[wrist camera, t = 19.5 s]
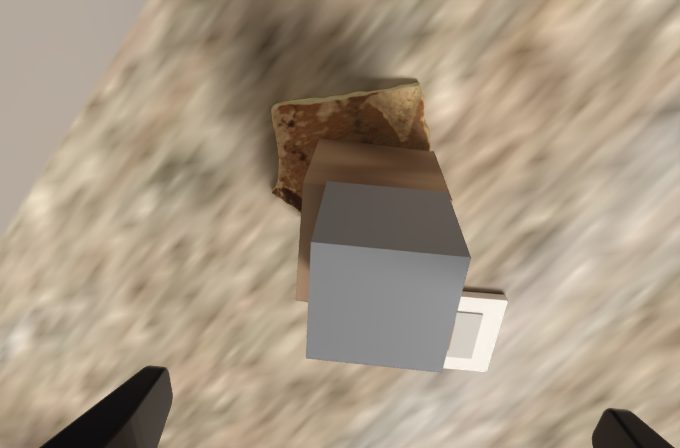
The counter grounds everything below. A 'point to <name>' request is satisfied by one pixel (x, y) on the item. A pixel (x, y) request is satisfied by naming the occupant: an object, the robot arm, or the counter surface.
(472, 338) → the plan card
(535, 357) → the counter surface
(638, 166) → the counter surface
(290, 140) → the shard
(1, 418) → the counter surface
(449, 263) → the gray cube
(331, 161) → the walnut block
